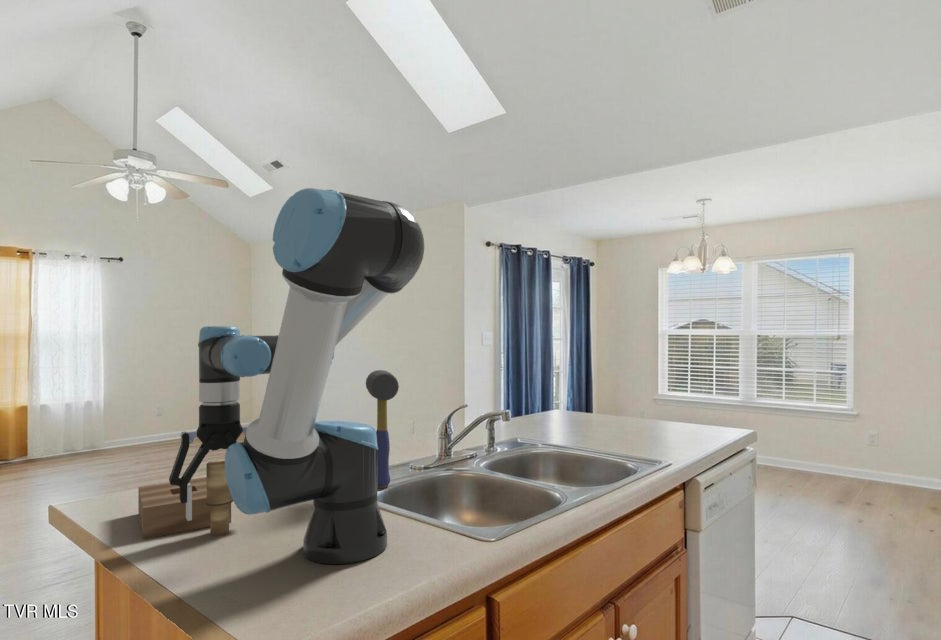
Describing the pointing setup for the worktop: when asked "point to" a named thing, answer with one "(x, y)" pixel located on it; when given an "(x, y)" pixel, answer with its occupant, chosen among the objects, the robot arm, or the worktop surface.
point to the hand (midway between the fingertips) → (219, 513)
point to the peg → (218, 497)
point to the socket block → (172, 508)
